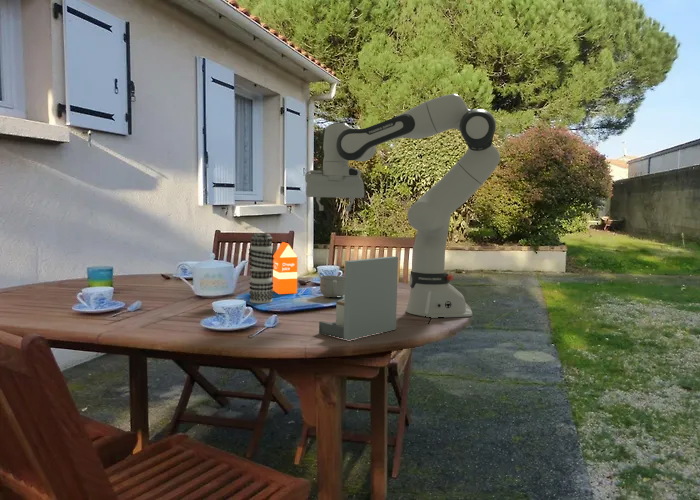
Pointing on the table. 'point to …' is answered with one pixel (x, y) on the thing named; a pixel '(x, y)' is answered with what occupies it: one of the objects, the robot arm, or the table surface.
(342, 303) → the grey tea canister
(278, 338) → the table surface
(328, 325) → the wall board
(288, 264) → the orange juice
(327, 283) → the teacup
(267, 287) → the decorative candle
